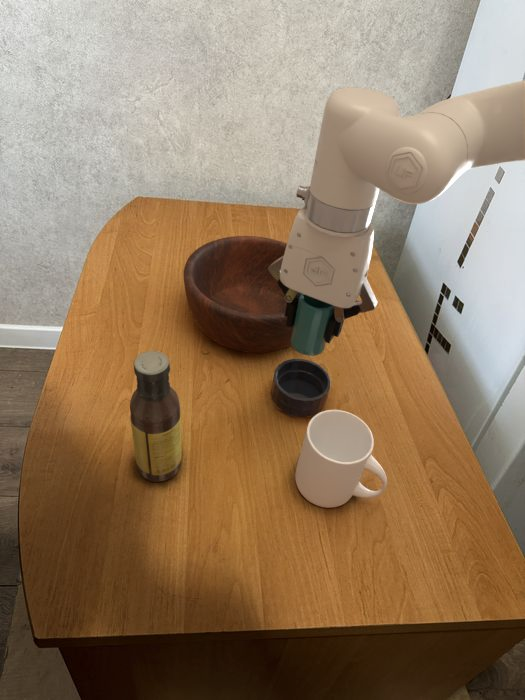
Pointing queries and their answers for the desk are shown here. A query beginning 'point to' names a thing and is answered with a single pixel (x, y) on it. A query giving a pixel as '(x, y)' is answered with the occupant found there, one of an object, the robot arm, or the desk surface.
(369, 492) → the mug
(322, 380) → the bowl
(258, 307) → the wooden bowl
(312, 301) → the cup
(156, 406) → the sauce bottle
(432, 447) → the desk surface
